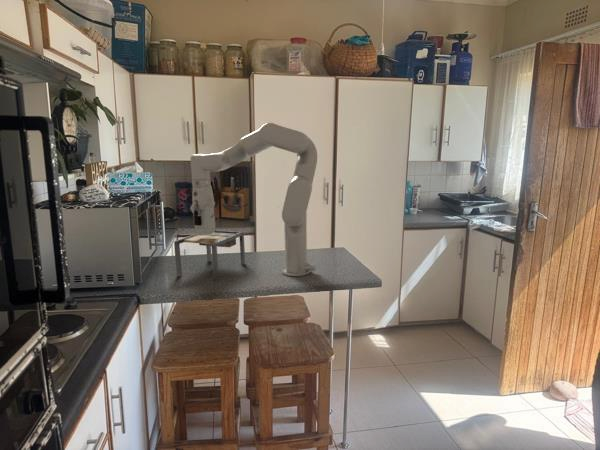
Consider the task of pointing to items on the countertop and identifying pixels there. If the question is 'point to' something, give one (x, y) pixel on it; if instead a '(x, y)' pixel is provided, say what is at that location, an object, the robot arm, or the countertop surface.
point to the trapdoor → (212, 239)
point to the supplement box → (206, 221)
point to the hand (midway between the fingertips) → (204, 223)
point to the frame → (214, 251)
